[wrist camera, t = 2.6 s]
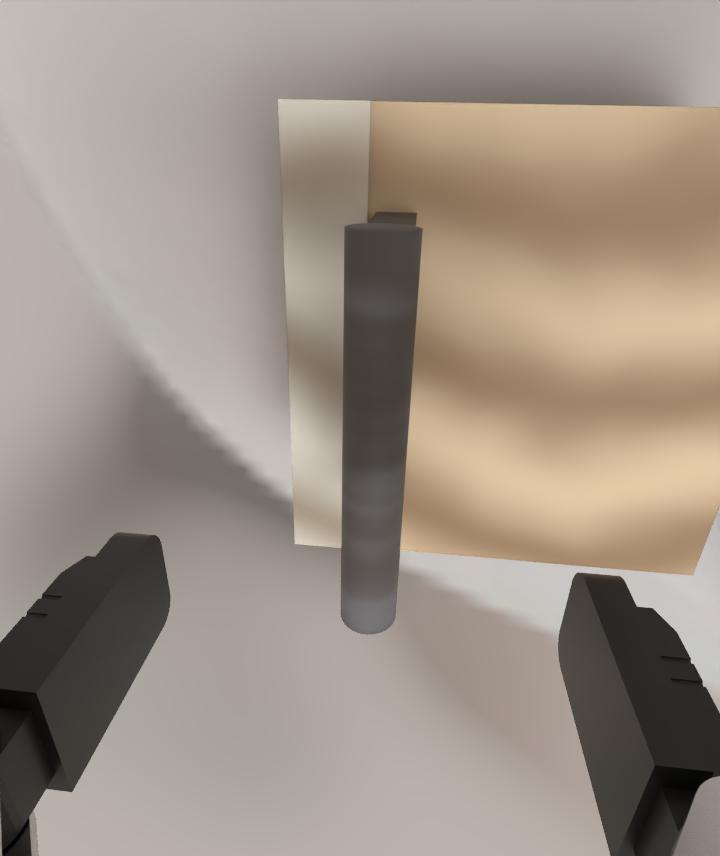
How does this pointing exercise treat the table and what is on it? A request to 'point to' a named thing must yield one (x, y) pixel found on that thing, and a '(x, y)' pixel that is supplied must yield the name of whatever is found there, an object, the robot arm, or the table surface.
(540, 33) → the table surface
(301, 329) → the lid
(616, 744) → the robot arm
